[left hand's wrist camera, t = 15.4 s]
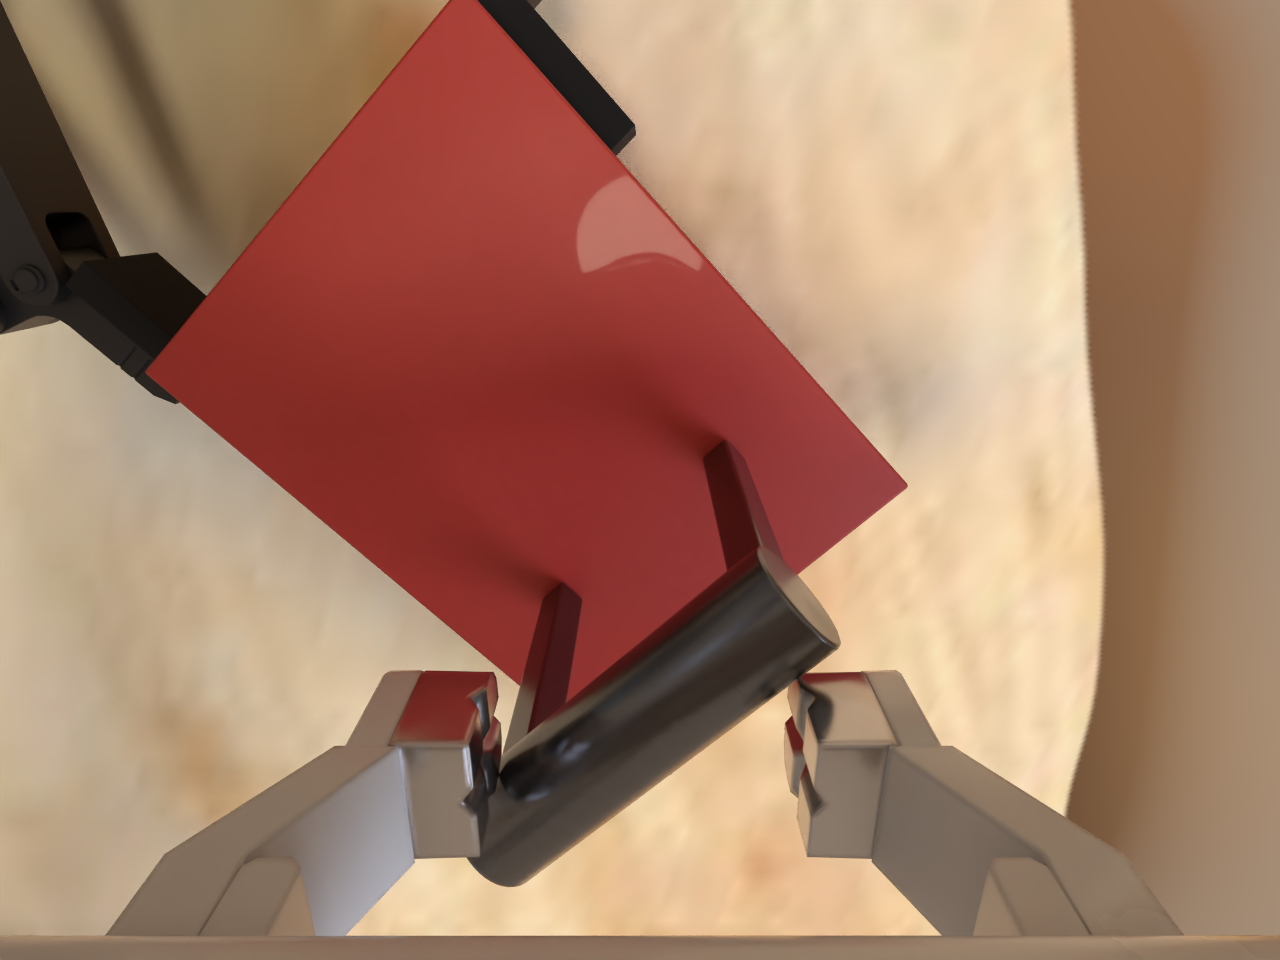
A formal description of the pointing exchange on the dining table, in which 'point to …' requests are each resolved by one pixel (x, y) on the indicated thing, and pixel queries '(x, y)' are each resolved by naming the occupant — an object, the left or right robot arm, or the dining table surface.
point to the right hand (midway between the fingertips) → (466, 309)
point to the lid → (536, 426)
